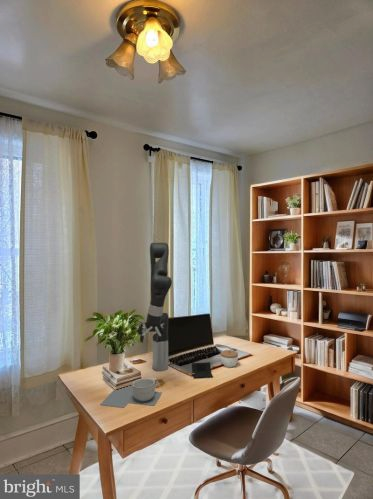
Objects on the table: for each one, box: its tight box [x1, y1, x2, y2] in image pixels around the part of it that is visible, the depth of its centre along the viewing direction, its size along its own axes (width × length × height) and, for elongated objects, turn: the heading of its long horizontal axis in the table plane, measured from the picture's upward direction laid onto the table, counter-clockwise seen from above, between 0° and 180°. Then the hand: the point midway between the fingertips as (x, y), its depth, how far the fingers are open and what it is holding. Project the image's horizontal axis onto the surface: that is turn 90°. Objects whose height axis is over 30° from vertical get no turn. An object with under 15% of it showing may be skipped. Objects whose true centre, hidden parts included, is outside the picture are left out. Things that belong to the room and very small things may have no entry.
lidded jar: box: [220, 349, 239, 368], centre depth 194 cm, size 11×11×9 cm
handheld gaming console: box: [191, 362, 214, 380], centre depth 180 cm, size 12×7×10 cm
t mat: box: [99, 384, 163, 409], centre depth 155 cm, size 22×25×1 cm
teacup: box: [131, 377, 159, 401], centre depth 154 cm, size 14×11×8 cm
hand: (149, 341), depth 166 cm, fingers open, 8 cm apart
